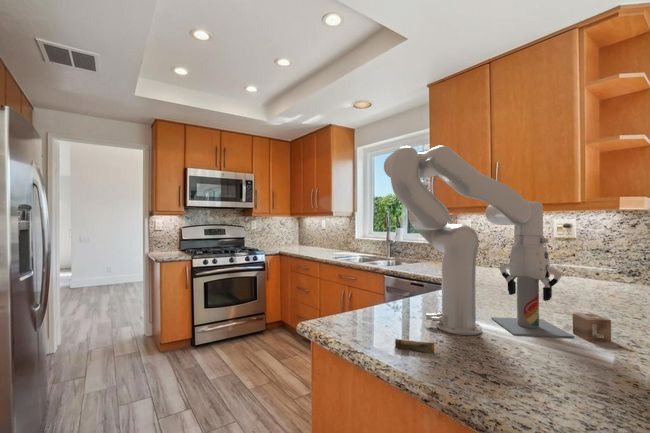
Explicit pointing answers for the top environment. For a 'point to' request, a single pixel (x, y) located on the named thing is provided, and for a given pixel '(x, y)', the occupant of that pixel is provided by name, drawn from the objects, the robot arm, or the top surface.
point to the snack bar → (414, 346)
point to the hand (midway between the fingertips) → (528, 297)
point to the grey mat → (542, 331)
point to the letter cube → (592, 327)
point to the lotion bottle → (527, 302)
